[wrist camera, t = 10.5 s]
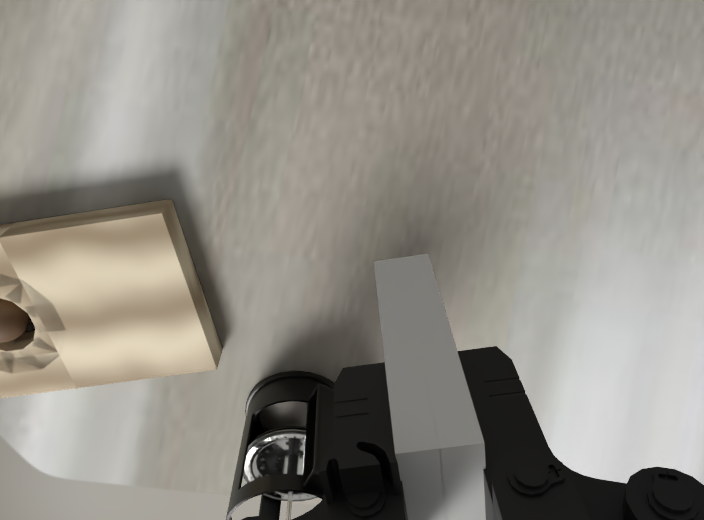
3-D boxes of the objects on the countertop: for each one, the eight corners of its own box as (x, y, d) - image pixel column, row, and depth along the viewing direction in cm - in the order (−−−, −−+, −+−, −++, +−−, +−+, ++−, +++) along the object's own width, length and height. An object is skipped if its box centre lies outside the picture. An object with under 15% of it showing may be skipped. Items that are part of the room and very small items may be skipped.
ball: (-40, 305, 42) (-24, 318, 40) (8, 284, 44) (25, 296, 42) (-20, 342, 43) (-4, 357, 41) (25, 320, 46) (43, 333, 44)
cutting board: (-90, 238, 41) (-114, 254, 39) (171, 198, 40) (161, 213, 38) (-3, 380, 48) (-19, 400, 46) (222, 349, 47) (216, 369, 45)
